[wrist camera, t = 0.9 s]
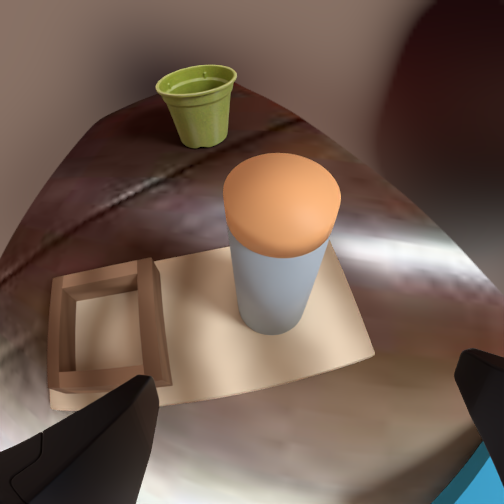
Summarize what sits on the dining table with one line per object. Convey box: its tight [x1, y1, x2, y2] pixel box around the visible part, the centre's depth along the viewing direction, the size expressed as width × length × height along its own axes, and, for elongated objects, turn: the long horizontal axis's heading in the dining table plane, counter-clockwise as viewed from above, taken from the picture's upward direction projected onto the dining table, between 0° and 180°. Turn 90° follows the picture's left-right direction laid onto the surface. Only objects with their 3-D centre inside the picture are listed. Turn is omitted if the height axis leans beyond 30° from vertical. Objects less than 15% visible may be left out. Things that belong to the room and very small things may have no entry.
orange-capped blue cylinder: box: [223, 153, 341, 335], centre depth 17 cm, size 5×5×12 cm
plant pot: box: [156, 65, 237, 148], centre depth 33 cm, size 9×9×9 cm
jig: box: [47, 240, 375, 411], centre depth 21 cm, size 26×12×4 cm, turn 103°
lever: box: [431, 441, 504, 504], centre depth 12 cm, size 7×7×18 cm
